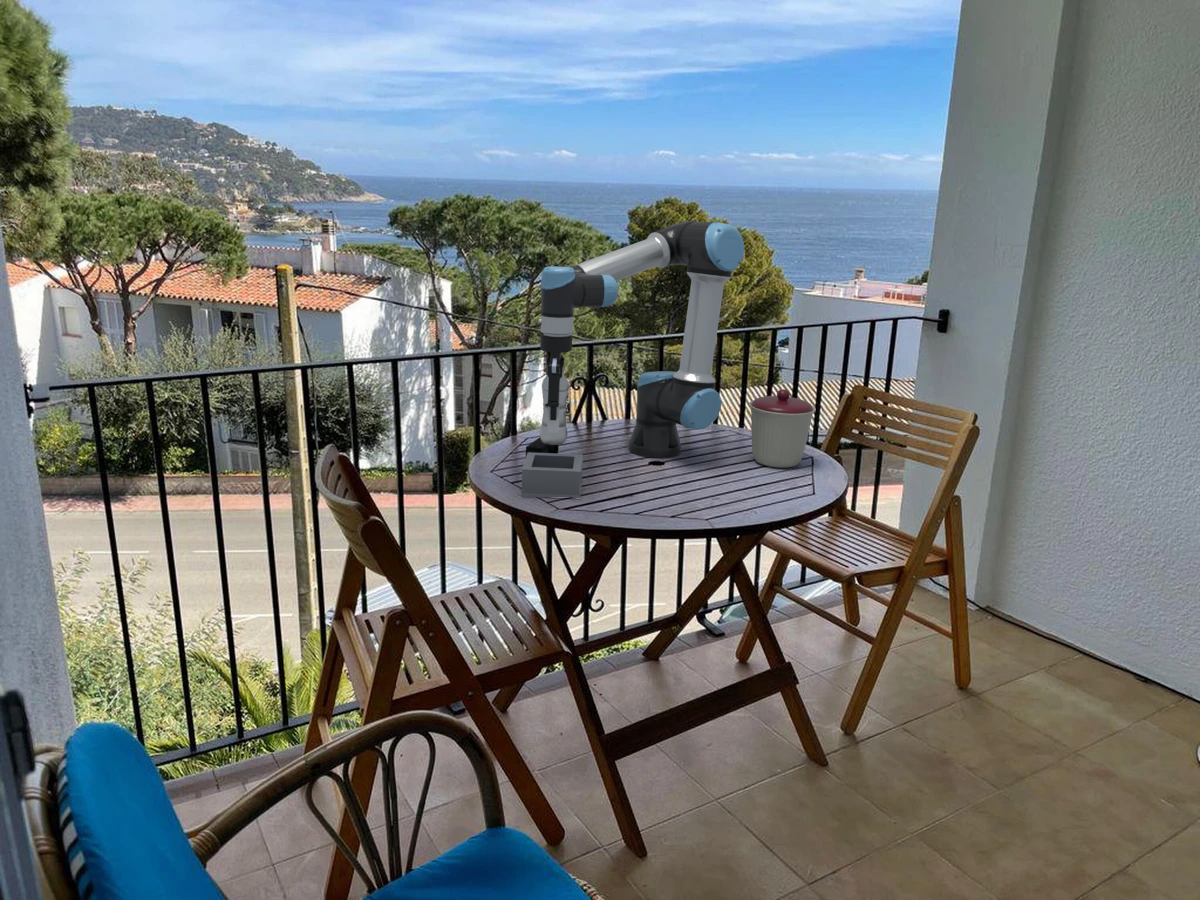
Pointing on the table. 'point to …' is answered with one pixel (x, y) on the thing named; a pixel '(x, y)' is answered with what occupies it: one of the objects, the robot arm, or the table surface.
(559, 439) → the plastic bottle
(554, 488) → the well
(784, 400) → the canister
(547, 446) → the digital camera
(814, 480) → the table surface
